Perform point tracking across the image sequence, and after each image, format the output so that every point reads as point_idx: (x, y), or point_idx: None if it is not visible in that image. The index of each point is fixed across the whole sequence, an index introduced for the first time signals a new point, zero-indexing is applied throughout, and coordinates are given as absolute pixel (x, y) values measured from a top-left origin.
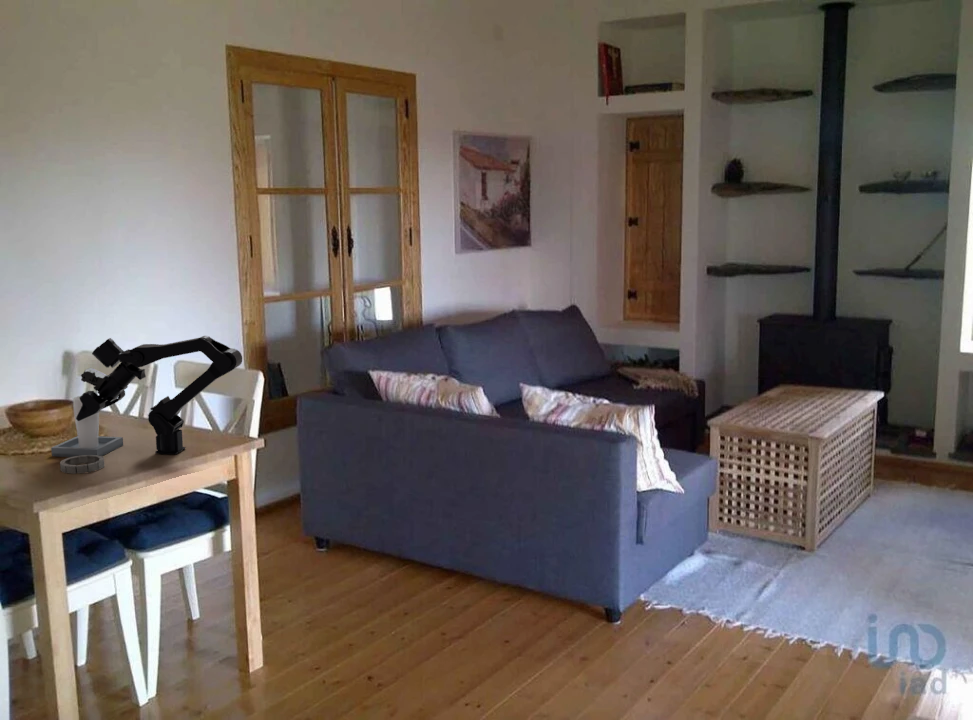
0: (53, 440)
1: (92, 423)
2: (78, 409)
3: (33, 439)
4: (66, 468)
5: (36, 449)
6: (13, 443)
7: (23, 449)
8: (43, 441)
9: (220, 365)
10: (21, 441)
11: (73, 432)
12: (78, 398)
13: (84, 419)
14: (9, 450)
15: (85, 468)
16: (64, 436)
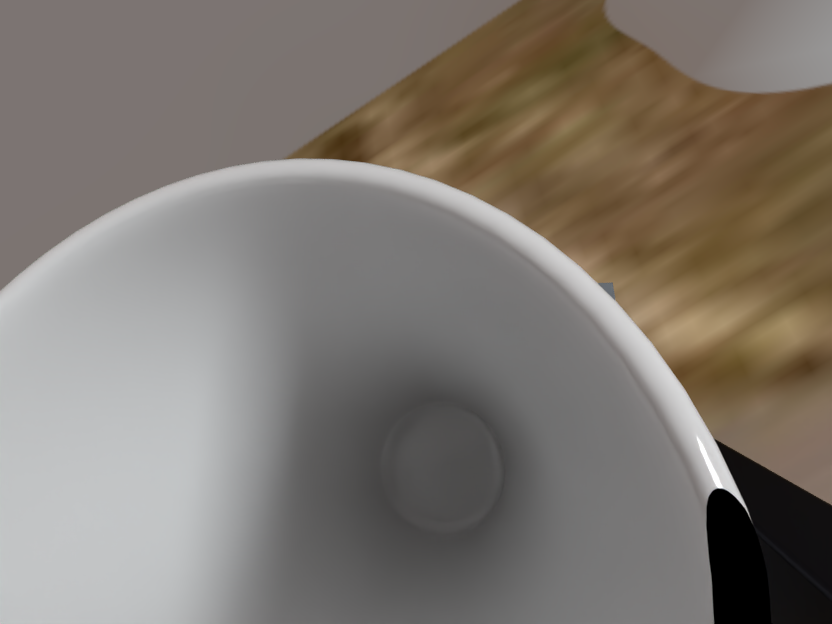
0: (611, 134)
1: (334, 606)
2: (130, 470)
3: (597, 47)
4: None
5: (430, 170)
6: (507, 26)
7: (421, 122)
8: (577, 106)
9: None
10: (548, 30)
11: (826, 118)
12: (375, 222)
13: (250, 538)
14: (397, 85)
15: None
16: (714, 131)
